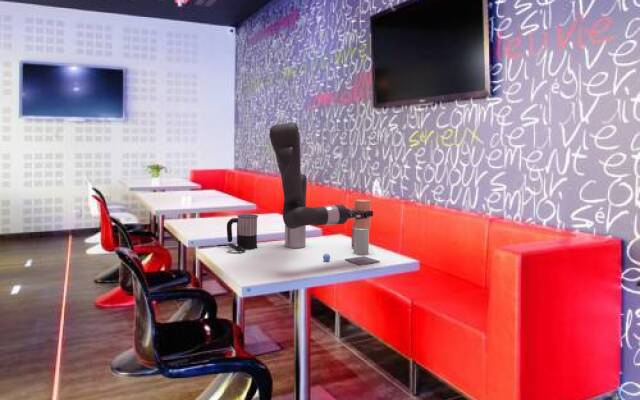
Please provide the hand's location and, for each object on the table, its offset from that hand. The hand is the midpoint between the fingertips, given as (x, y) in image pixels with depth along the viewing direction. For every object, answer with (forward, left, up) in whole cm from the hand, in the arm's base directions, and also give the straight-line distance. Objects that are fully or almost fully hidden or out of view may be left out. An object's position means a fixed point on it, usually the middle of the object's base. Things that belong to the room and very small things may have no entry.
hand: (367, 212), depth 201 cm
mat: (0, -2, -20) cm, 20 cm away
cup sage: (-12, +7, -20) cm, 24 cm away
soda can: (-21, +13, -20) cm, 32 cm away
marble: (-8, -14, -20) cm, 26 cm away
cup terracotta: (0, -2, -6) cm, 6 cm away
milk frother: (-45, -33, -20) cm, 60 cm away
